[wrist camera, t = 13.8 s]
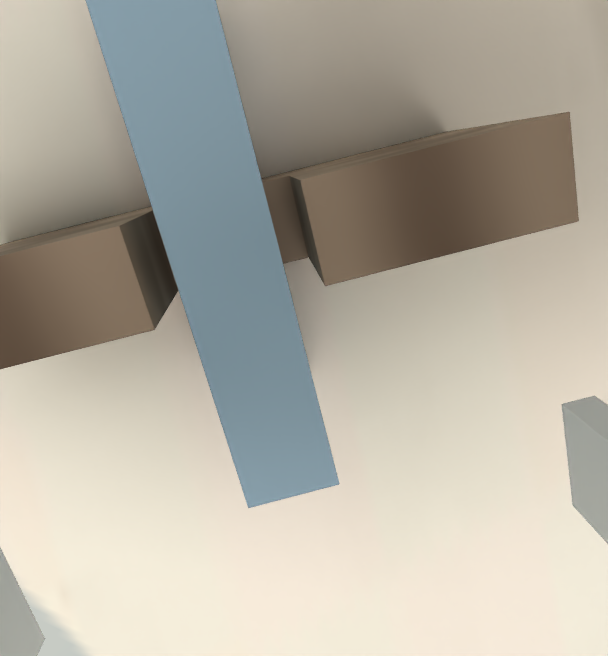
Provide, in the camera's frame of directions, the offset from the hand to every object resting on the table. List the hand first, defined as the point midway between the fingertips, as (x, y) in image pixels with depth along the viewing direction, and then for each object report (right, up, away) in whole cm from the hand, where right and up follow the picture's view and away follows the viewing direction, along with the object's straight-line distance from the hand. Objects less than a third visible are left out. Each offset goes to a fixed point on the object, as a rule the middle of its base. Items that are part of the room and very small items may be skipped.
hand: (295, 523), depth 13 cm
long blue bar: (-3, +9, +12) cm, 16 cm away
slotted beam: (-3, +9, +12) cm, 16 cm away
